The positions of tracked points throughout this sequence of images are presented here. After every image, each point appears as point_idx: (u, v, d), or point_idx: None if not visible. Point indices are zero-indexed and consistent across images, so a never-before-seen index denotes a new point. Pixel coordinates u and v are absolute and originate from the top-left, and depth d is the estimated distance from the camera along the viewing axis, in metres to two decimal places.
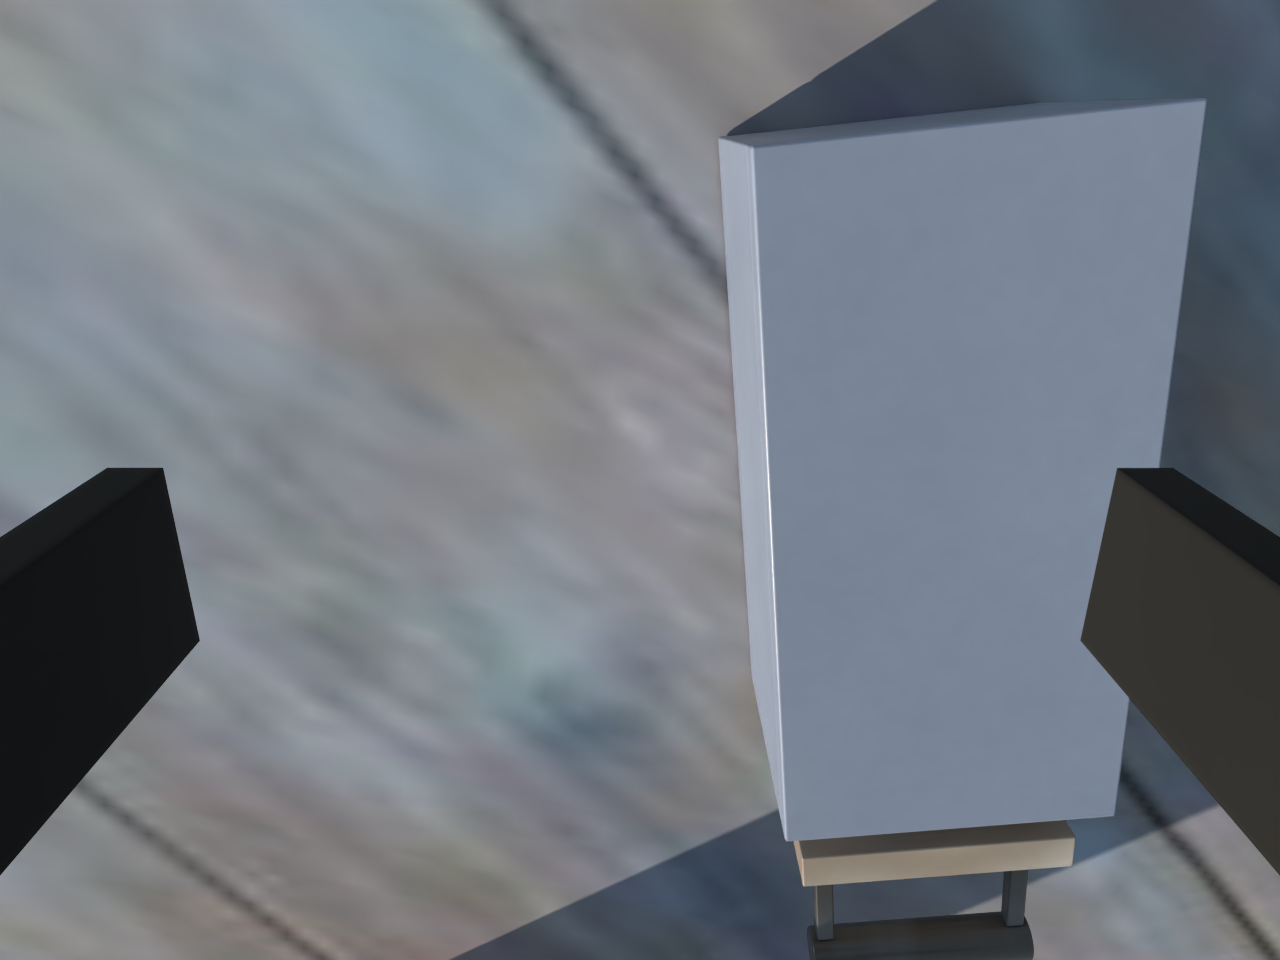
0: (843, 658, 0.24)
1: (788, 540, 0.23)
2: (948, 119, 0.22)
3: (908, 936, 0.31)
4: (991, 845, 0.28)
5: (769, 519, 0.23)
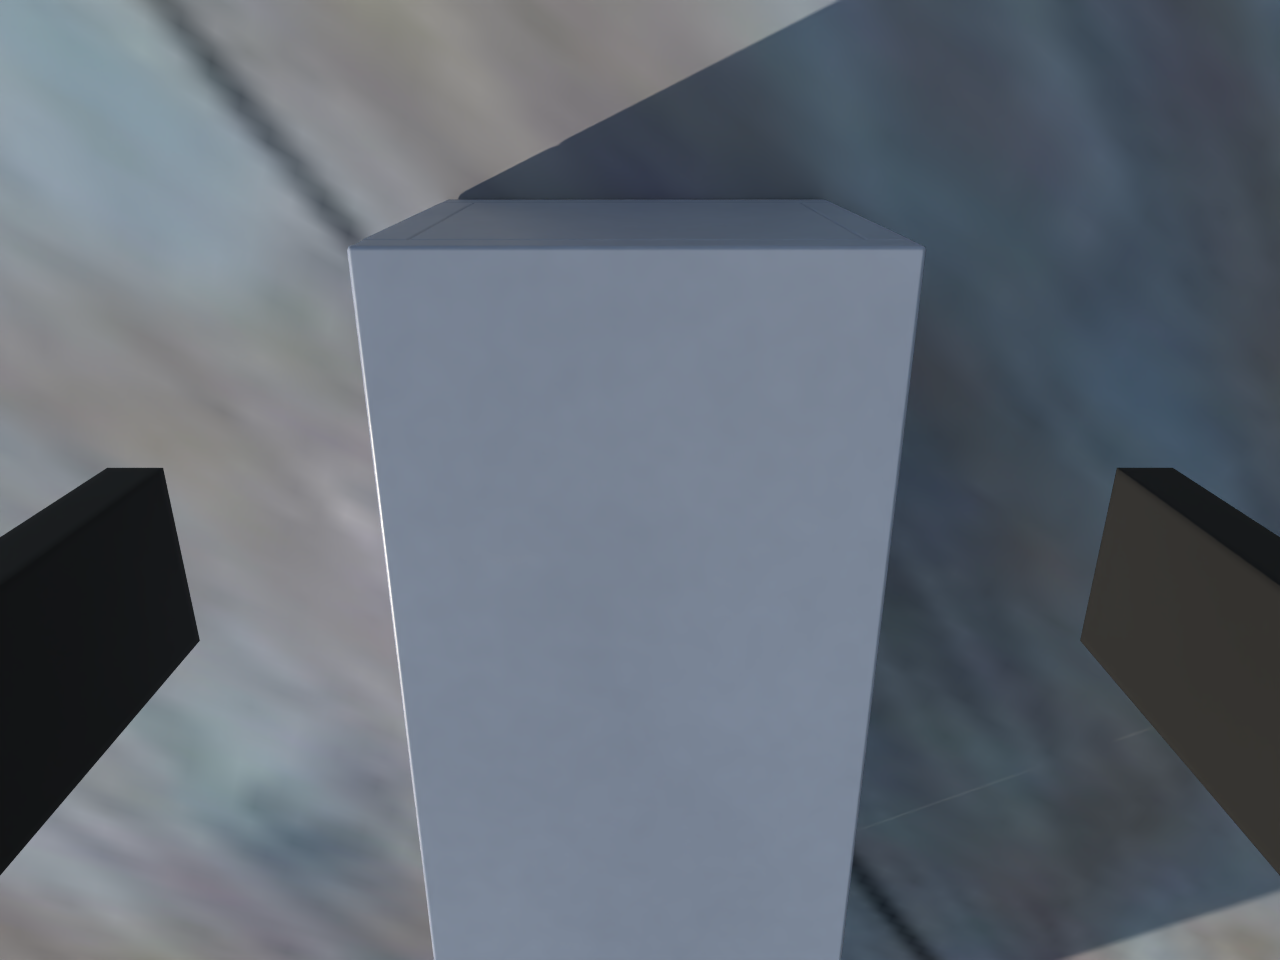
0: (501, 853, 0.20)
1: (426, 717, 0.18)
2: (652, 224, 0.18)
3: None
4: None
5: (401, 690, 0.18)
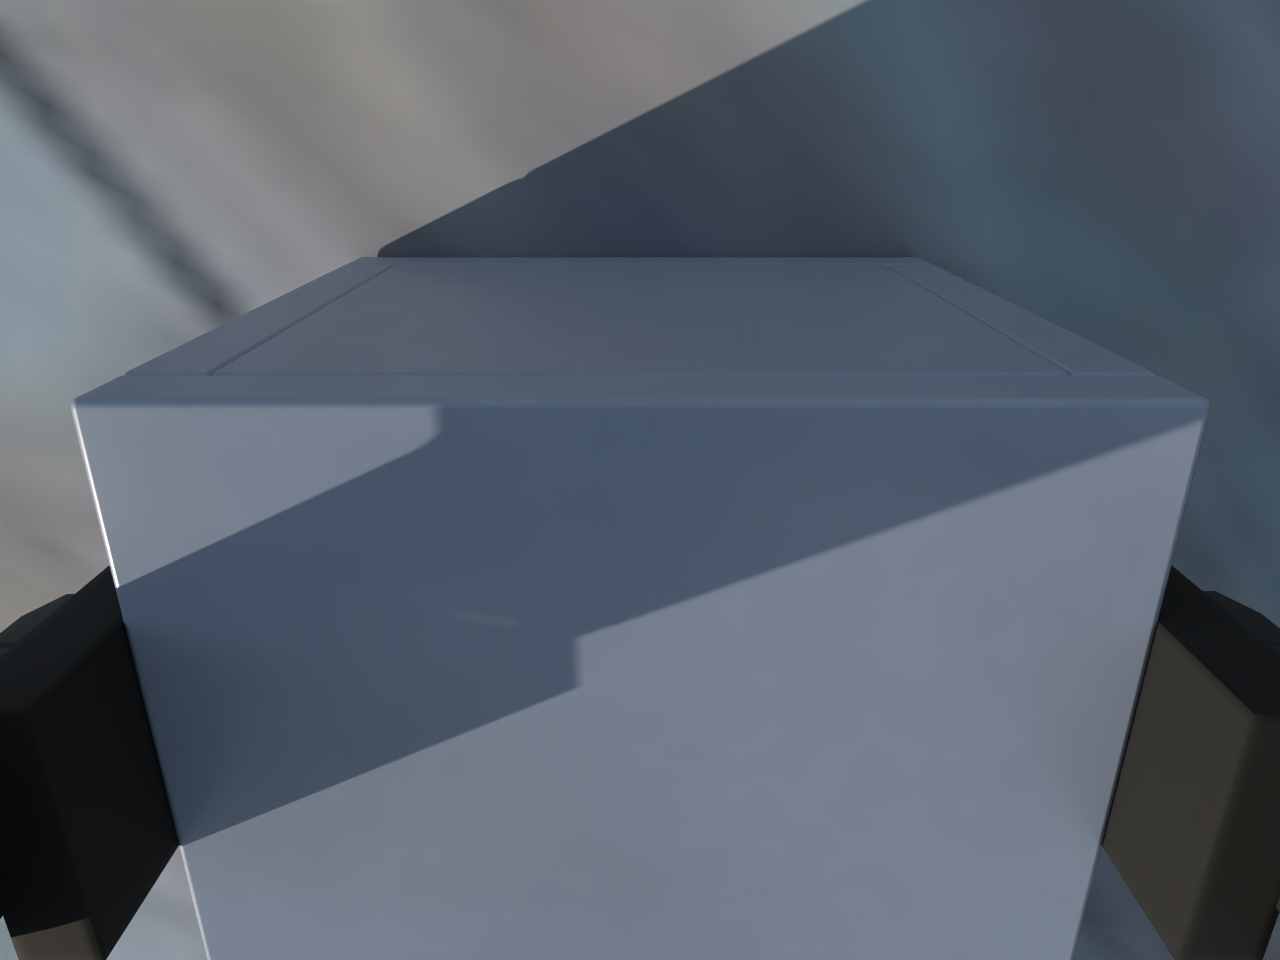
0: None
1: None
2: (667, 324, 0.10)
3: None
4: None
5: None
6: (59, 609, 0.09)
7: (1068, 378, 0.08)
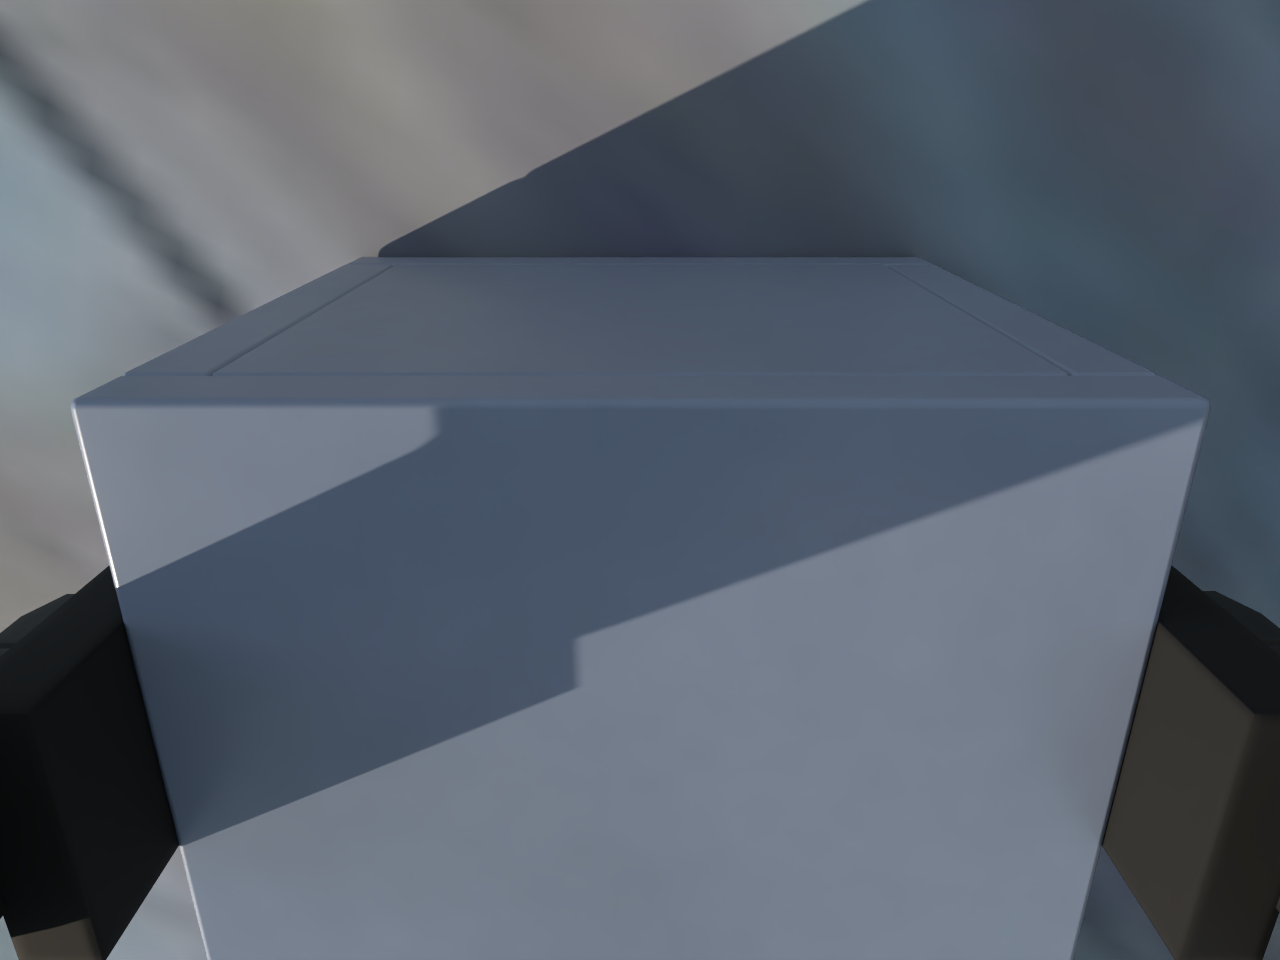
0: None
1: None
2: (667, 324, 0.10)
3: None
4: None
5: None
6: (59, 609, 0.09)
7: (1068, 378, 0.08)
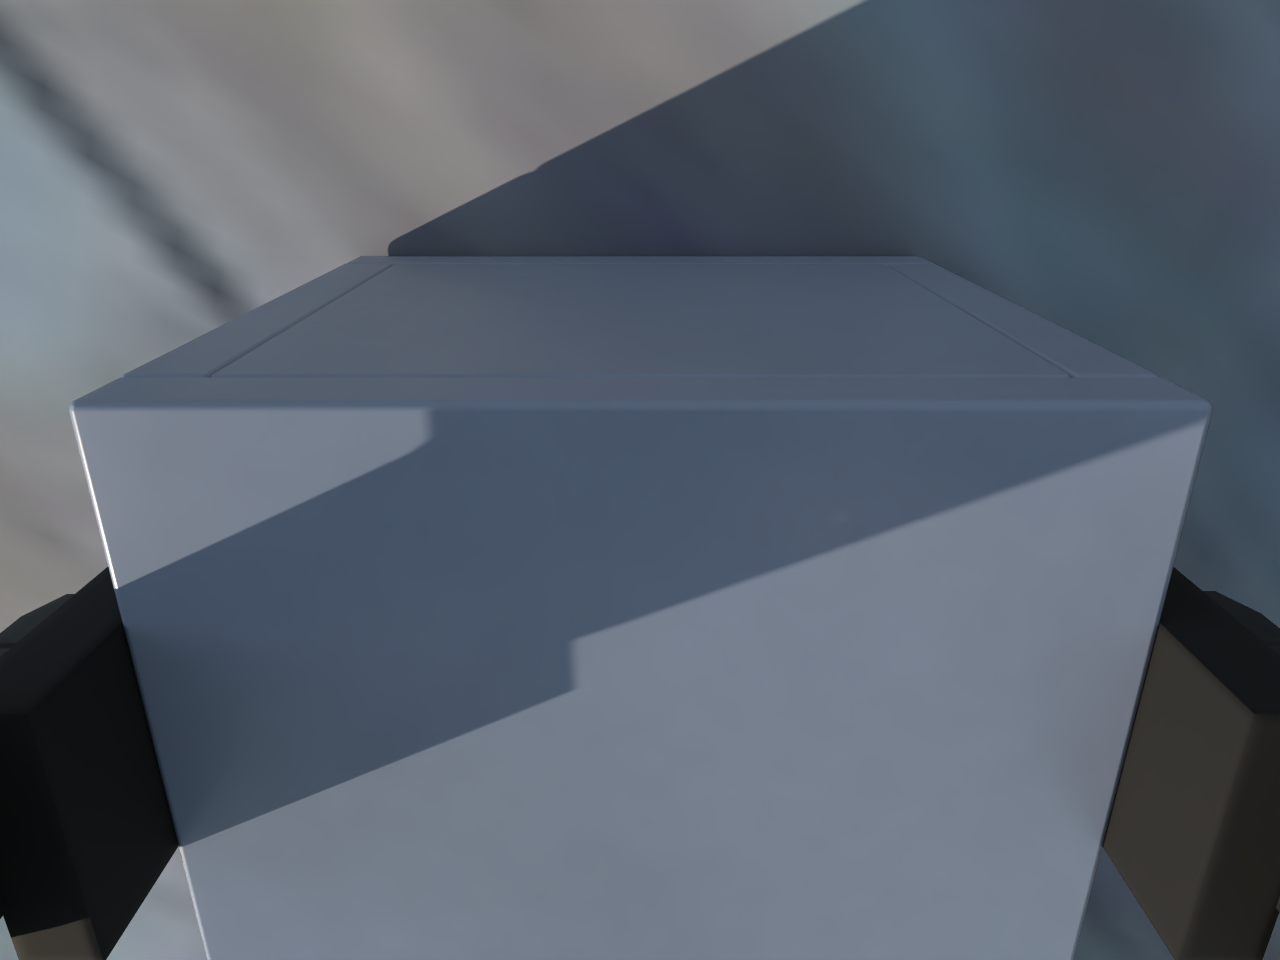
0: None
1: None
2: (668, 325, 0.10)
3: None
4: None
5: None
6: (59, 609, 0.09)
7: (1070, 380, 0.08)
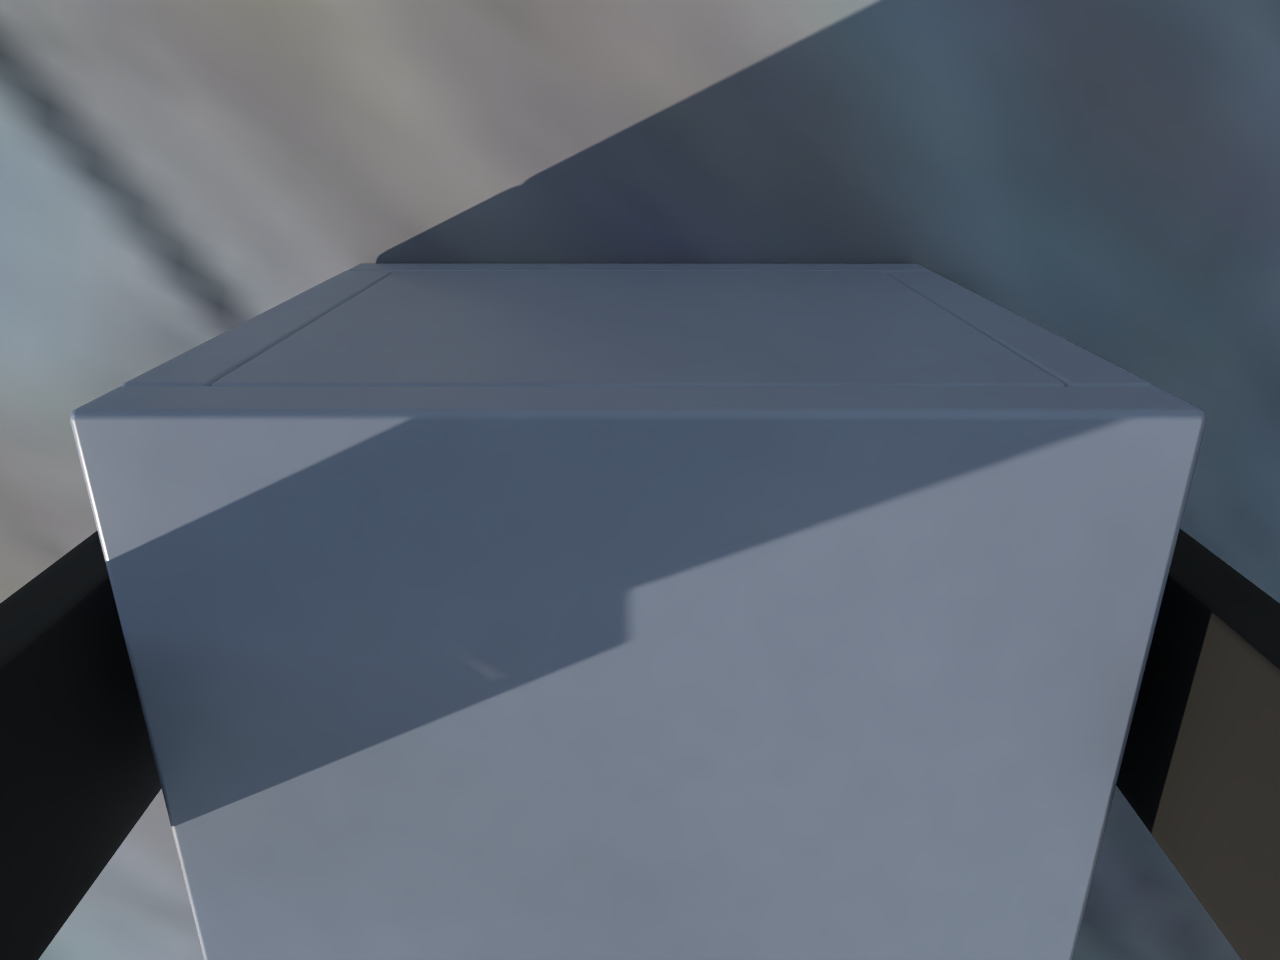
0: None
1: None
2: (666, 333, 0.10)
3: None
4: None
5: None
6: None
7: (1065, 389, 0.08)
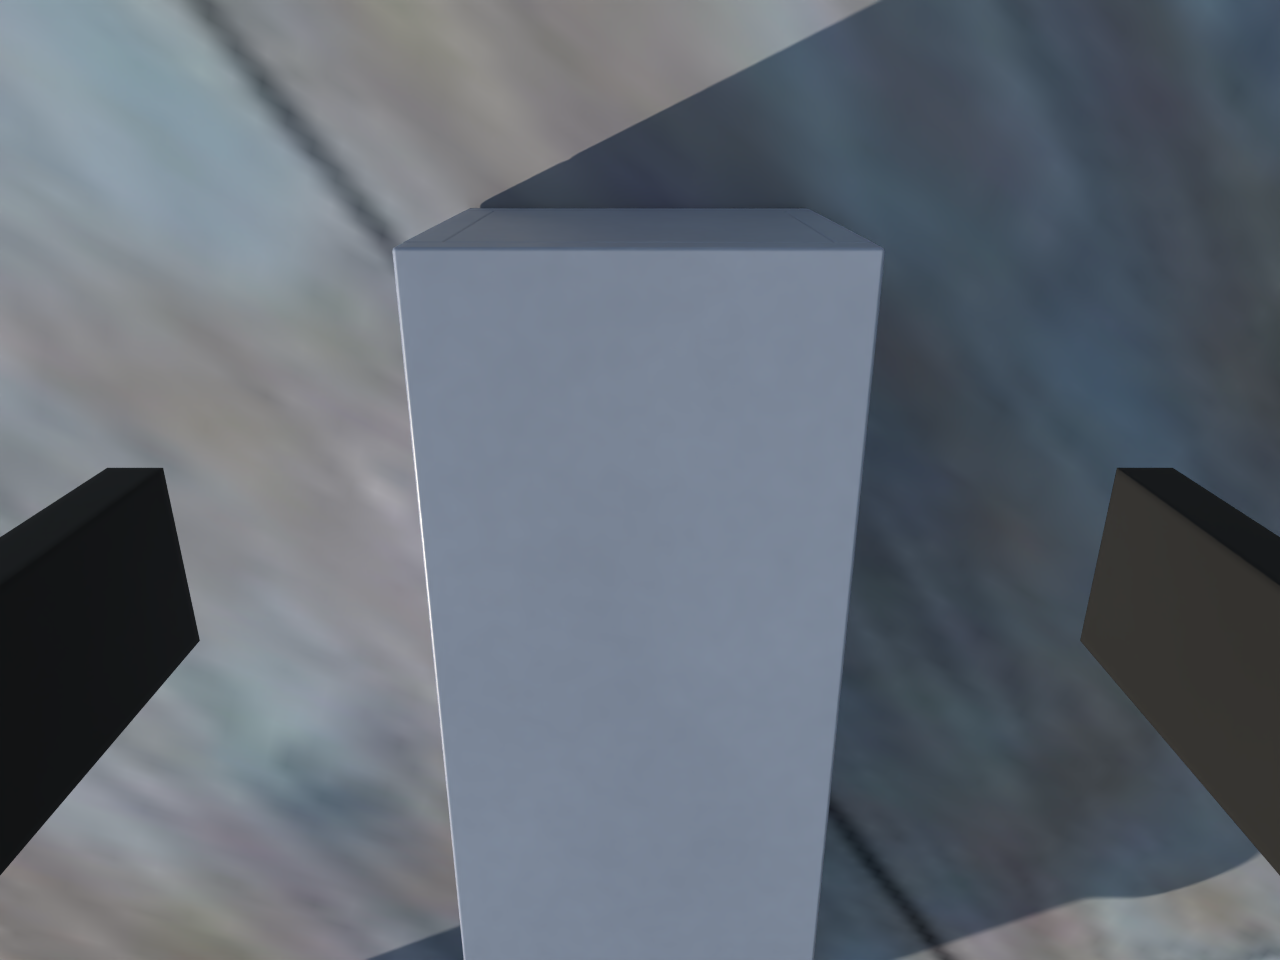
0: (517, 786, 0.22)
1: (452, 662, 0.21)
2: (652, 230, 0.20)
3: None
4: None
5: (431, 637, 0.21)
6: None
7: (830, 243, 0.18)
